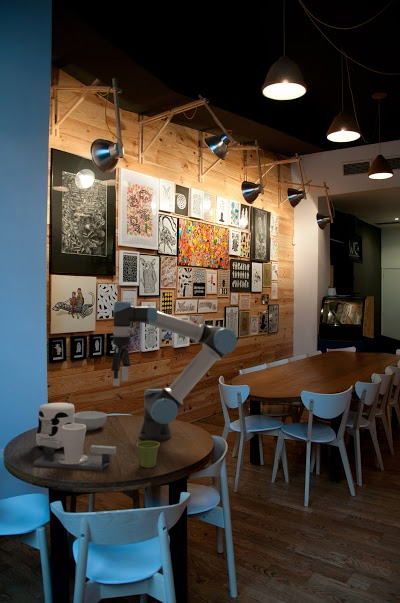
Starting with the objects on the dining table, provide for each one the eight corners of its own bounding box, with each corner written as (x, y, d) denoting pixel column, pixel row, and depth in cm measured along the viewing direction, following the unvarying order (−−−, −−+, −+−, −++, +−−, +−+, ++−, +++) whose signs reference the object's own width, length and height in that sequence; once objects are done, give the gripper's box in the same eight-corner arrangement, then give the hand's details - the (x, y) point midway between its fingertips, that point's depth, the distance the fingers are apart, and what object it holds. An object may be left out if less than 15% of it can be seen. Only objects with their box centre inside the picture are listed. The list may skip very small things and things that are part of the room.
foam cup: (87, 460, 196) (88, 428, 196) (64, 463, 191) (65, 430, 191) (81, 453, 204) (82, 422, 204) (59, 456, 200) (59, 424, 200)
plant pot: (139, 470, 191) (140, 448, 190) (133, 463, 199) (133, 441, 199) (162, 468, 194) (163, 446, 194) (155, 460, 203) (155, 439, 203)
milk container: (73, 439, 231) (74, 401, 231) (78, 450, 214) (79, 409, 214) (35, 442, 225) (35, 403, 225) (36, 453, 208) (37, 411, 208)
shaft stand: (120, 460, 202) (120, 442, 202) (110, 471, 189) (111, 452, 189) (41, 455, 207) (41, 437, 207) (26, 465, 194) (26, 446, 194)
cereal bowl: (94, 434, 240) (94, 419, 240) (66, 430, 246) (66, 416, 246) (112, 426, 256) (113, 412, 256) (85, 422, 262) (85, 409, 262)
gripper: (121, 338, 207) (120, 388, 207) (137, 334, 231) (136, 379, 232) (104, 337, 208) (103, 387, 208) (121, 333, 232) (120, 378, 233)
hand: (120, 383), depth 220 cm, fingers open, 13 cm apart
